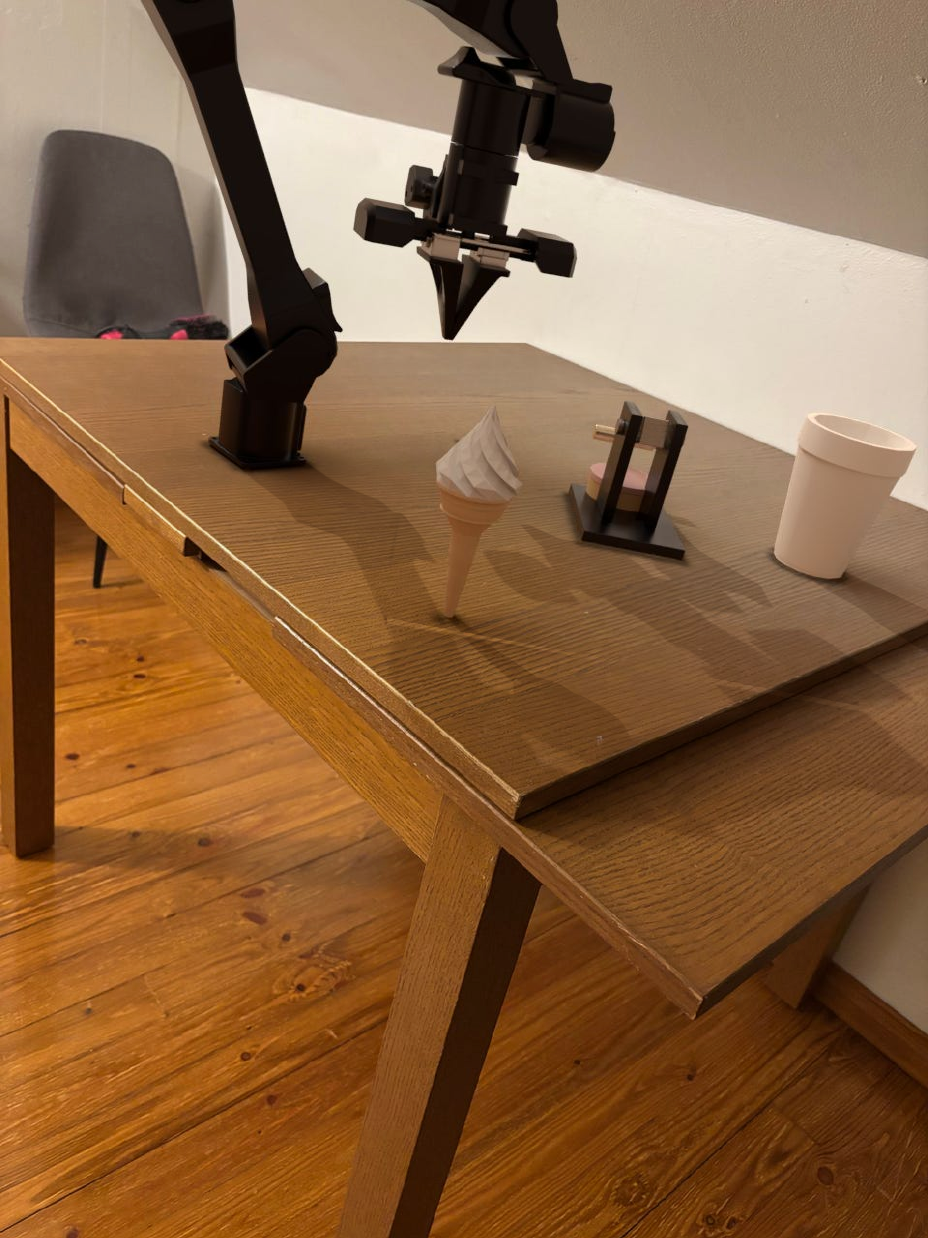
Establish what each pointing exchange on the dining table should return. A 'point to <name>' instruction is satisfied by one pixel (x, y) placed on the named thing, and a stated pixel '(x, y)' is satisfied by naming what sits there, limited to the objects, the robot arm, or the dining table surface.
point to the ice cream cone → (474, 496)
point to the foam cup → (837, 491)
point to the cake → (630, 489)
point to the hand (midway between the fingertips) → (447, 338)
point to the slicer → (651, 522)
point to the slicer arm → (639, 433)
